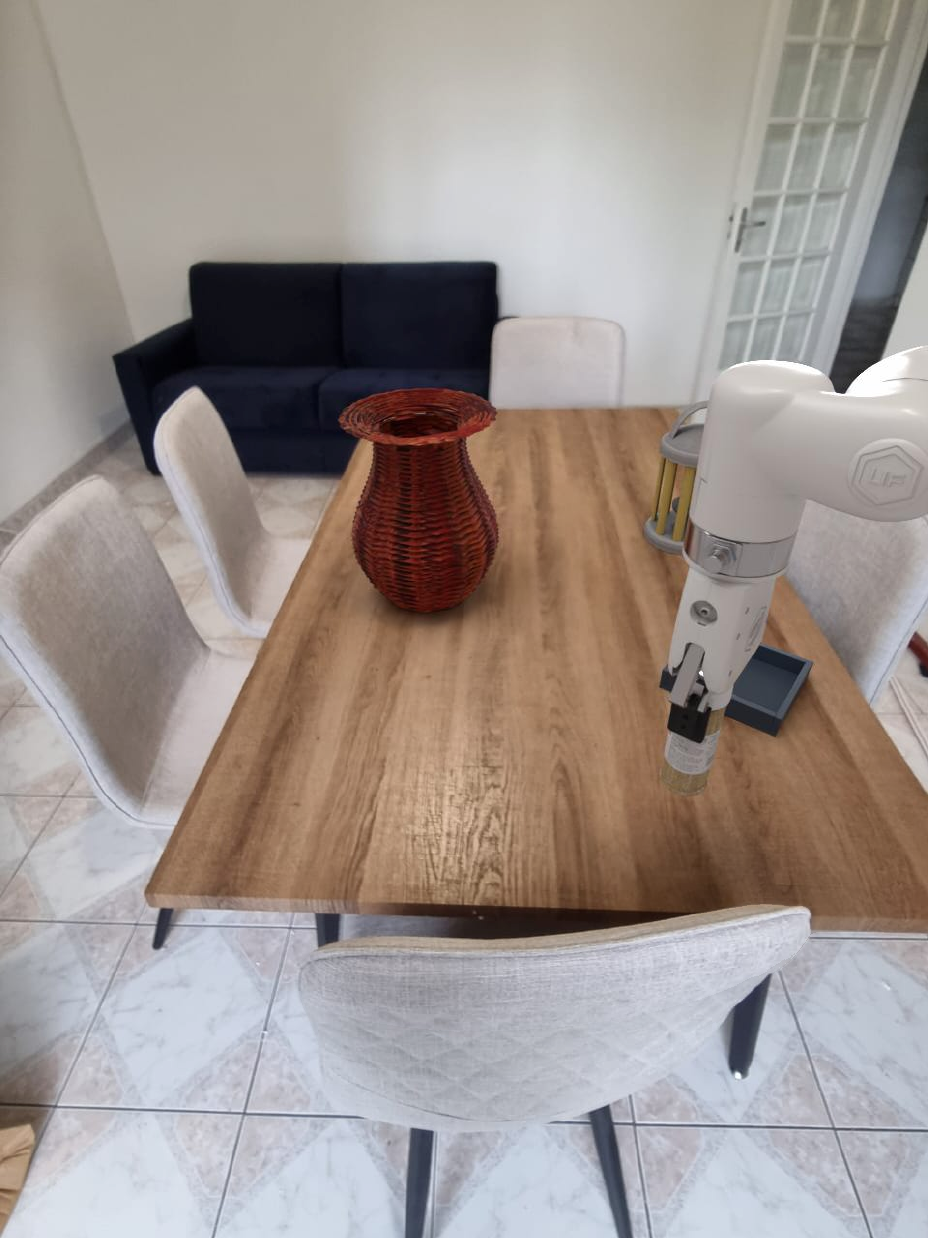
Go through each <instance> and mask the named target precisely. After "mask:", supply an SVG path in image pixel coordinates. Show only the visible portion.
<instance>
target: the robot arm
mask: <svg viewBox="0 0 928 1238" xmlns="http://www.w3.org/2000/svg"><path fill="white" fill-rule="evenodd" d="M708 400H709V402H708V407H707V408H706V414H705V419H704V423H705V425H704V430H703V436H702V442H701V448H700V453H699V459H698V465H697V471H696V476H695V482H694V488H693V493H692V499H691V504H690V510H689V516H688V522H687V528H686V533H685V539H684V544H683V550H682V554H683V555H682V557H683V560H684V561H685V562H686V563H687V565H688V566H689V569H688V572H687V575H686V579H685V582H684V586H683V588H682V593H681V598H680V601H679V606H678V609H677V614H676V618H675V622H674V626H673V630H672V631H673V632H672V636H671V639H670V640H671V641H670V645H669V653H668V659H667V664H668V670H669V672H670V674H671V676H674V675H677V673H678V672H679V674H678V676H677V679H676V682H675V684H674V687H673V689H672V692H670V694H669V697H668V703H669V704H670V709H669V715H668V720H667V725H666V728H667V730H668V731H671V732H673V733H676V734H678V735H680V736H682V737H685V738H687V739H689V740H691V741H694V742H696V743H699V744H700V743H702V742H703V740H704V738H705V734H706V730H707V726H708V722H709V718H710V714H711V710H712V708H711V707H709V706H708V705H709V702H710V698H711V695H712V692H715V693H716V694H718V695H719V694H723V693H725V692H727V691H728V690H729V689H730V688H731V687H732V685H733V684H734V683H735V681H736V680H737V678H738V677H739V675H740V674H741V672H742V671H743V669H744V668H745V666H746V665H747V663H748V662H749V660H750V659H751V657H752V656H753V654H754V653H755V651H756V649H757V648H758V646H759V644H760V642H761V643H762V640H763V638H764V635H765V630H766V626H767V622H768V618H769V613H770V608H771V604H772V600H773V595H774V590H775V585H776V582H777V579H779V578H780V577H782V576H783V575H784V574H785V573H786V571H787V570H788V567H789V563H790V559H791V556H792V553H793V548H794V545H795V543H796V542H795V541H796V539H797V535H798V531H799V528H800V525H801V521H802V518H803V515H804V511H805V508H806V504H807V501H808V500H809V501H811V502H814V503H817V504H819V505H822V506H825V507H827V508H829V509H833V510H835V511H838V512H840V513H843V514H846V515H849V516H853V517H855V518H856V517H857V518H859V519H863V520H868V521H874V522H881V523H900V522H908V521H913V520H917V519H920V518H922V517H925V516H927V515H928V344H925V345H922V346H919V347H915V348H911V349H908V350H905V351H901V352H899V353H896V354H894V355H891V356H889V357H887V358H884V359H882V360H881V361H878V362H877V363H875V364H873V365H871V366H870V367H868V368H867V369H866V370H864V372H862V373H861V374H860V375H859V376H857V377H856V378H855V379H854V380H853V381H852V382H851V384H850V385H849V387H848V388H847V390H846V391H845V393H837V392H836V390H835V387H834V384H833V382H832V380H831V379H830V378H829V377H828V376H827V375H826V374H825V373H824V372H822V371H820V370H819V369H815V368H814V367H811V366H807V365H804V364H801V363H794V362H790V361H789V362H788V361H779V360H755V361H749V362H742V363H738V364H735V365H732V366H730V367H729V368H726V369H725V370H724V371H722V372H720V374H719V375H718V376H717V377H716V379H715V380H714V382H713V383H712V386H711V389H710V393H709V398H708ZM701 669H702V672H700V671H701ZM695 683H697V684H700V685H702V686H704V689H703V692H702V695H701V697H700V696H699V695H697V694H695V693H693V692H692V691H693V688H694V686H695Z"/></svg>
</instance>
